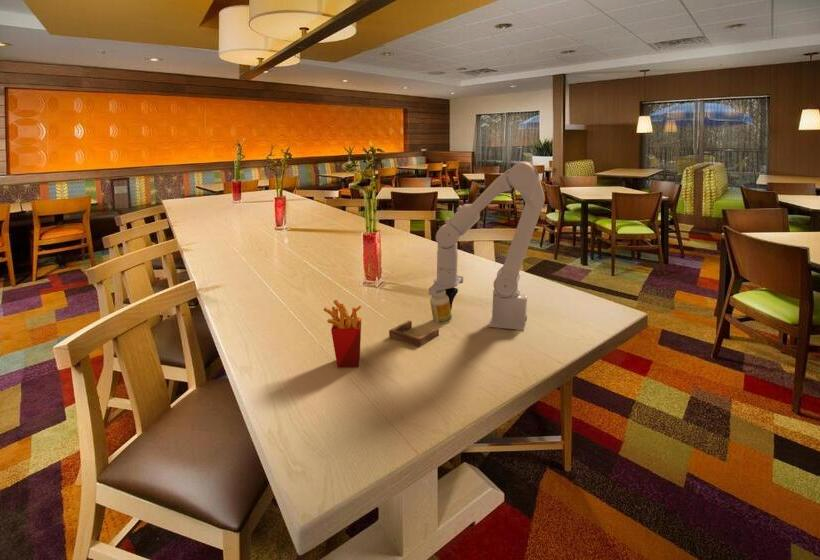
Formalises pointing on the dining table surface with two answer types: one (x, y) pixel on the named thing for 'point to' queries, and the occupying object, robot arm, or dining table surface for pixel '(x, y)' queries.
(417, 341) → the brown wooden u-shaped frame
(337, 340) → the french fries
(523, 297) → the robot arm
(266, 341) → the dining table surface
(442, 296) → the supplement bottle
